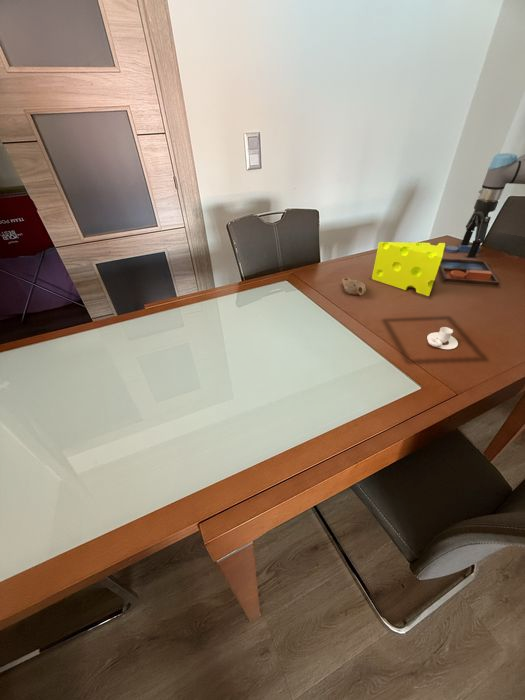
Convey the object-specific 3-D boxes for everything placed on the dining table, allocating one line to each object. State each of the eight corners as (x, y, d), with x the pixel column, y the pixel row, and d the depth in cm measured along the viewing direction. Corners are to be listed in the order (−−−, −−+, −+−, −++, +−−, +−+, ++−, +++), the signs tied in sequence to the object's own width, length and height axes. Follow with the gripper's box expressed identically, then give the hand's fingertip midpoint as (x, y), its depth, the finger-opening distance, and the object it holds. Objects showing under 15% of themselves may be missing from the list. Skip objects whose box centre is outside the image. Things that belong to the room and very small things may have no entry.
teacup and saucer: (430, 351, 84) (435, 339, 81) (419, 334, 90) (423, 323, 87) (462, 350, 84) (468, 338, 81) (449, 333, 90) (454, 321, 87)
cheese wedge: (405, 303, 104) (417, 262, 94) (371, 279, 119) (378, 241, 109) (451, 292, 108) (467, 252, 99) (412, 270, 123) (423, 233, 113)
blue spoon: (476, 250, 136) (478, 244, 134) (479, 254, 132) (481, 248, 130) (443, 248, 139) (445, 242, 137) (445, 252, 135) (447, 247, 133)
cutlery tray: (483, 265, 124) (485, 260, 122) (497, 287, 109) (499, 282, 108) (435, 262, 128) (437, 257, 127) (443, 283, 114) (445, 278, 112)
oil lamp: (336, 285, 116) (337, 273, 113) (354, 282, 117) (356, 270, 114) (352, 302, 106) (354, 289, 103) (371, 299, 107) (374, 286, 104)
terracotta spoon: (486, 275, 115) (489, 269, 113) (490, 282, 111) (493, 275, 109) (448, 273, 118) (450, 266, 116) (450, 279, 114) (453, 272, 113)
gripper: (470, 192, 131) (452, 241, 145) (485, 207, 113) (464, 262, 126) (489, 192, 129) (470, 241, 143) (508, 208, 111) (484, 263, 125)
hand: (467, 251), depth 135 cm, fingers open, 13 cm apart
